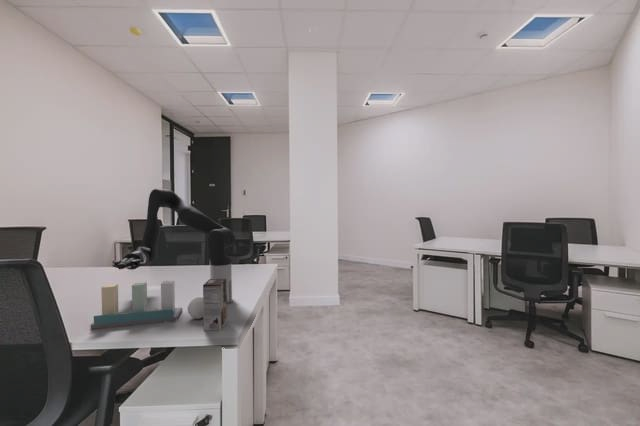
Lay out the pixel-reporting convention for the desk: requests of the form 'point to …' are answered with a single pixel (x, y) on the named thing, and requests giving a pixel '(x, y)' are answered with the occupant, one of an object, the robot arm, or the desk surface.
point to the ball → (196, 308)
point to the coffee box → (215, 304)
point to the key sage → (139, 297)
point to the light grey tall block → (167, 295)
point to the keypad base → (135, 318)
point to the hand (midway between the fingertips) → (120, 266)
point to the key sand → (110, 299)
